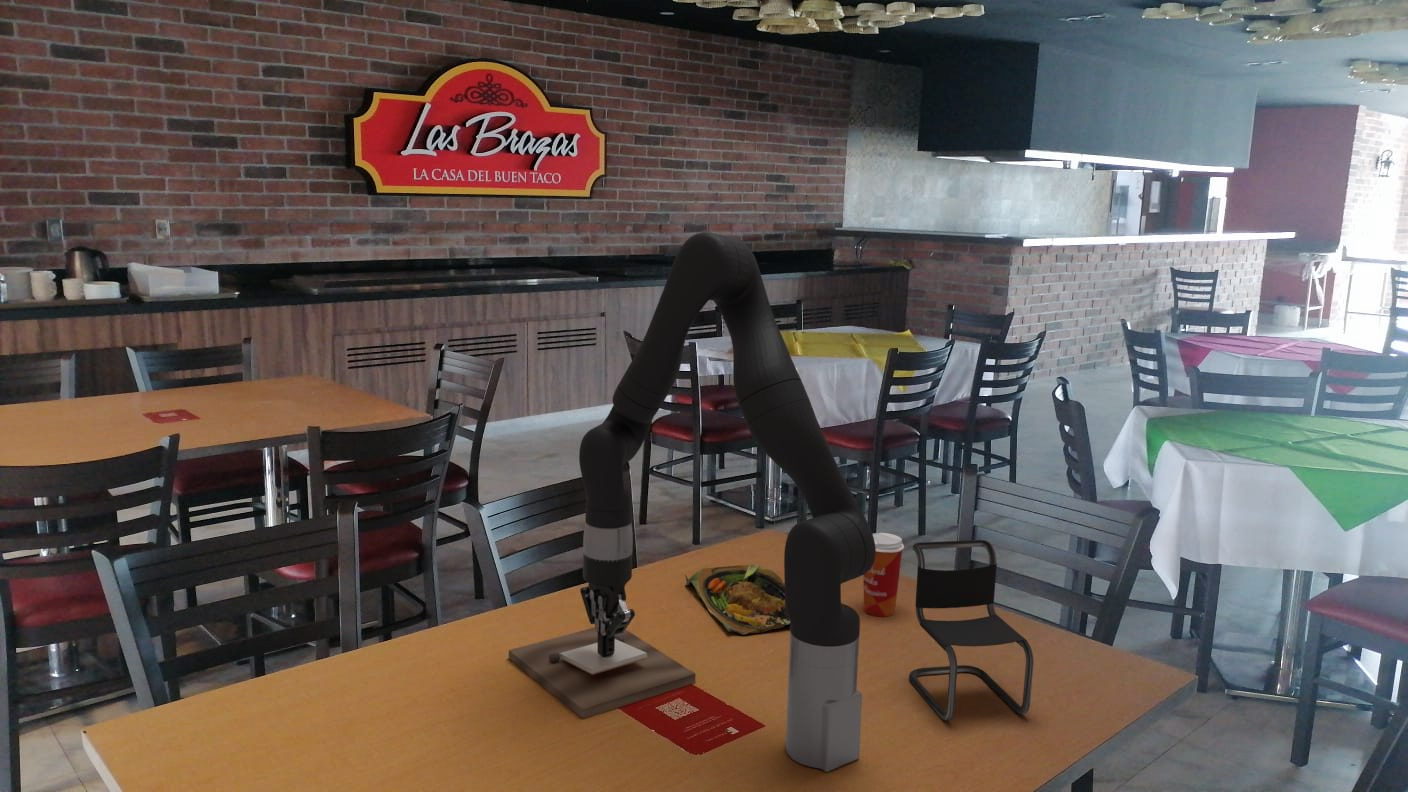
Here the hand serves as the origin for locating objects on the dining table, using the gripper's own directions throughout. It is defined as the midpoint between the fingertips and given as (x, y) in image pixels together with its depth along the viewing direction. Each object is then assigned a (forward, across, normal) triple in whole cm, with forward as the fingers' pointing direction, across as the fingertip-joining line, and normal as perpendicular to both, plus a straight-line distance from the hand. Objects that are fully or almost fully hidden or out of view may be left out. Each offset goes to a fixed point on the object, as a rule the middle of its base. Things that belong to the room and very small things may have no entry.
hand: (605, 654), depth 158 cm
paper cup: (+3, -6, -55) cm, 56 cm away
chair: (+2, -37, -41) cm, 55 cm away
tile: (0, +1, 0) cm, 1 cm away
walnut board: (+4, +2, 0) cm, 4 cm away
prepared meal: (+4, +10, -38) cm, 39 cm away
